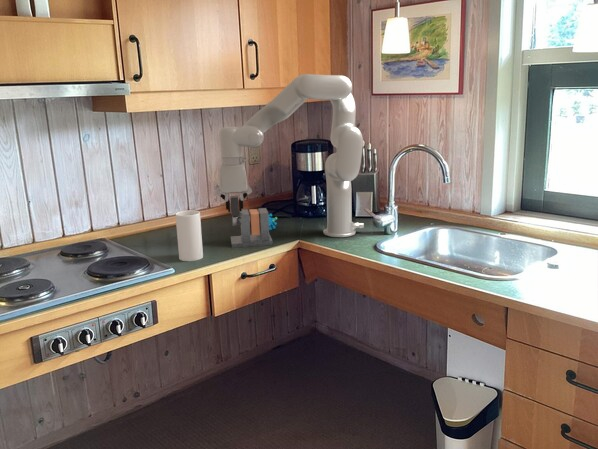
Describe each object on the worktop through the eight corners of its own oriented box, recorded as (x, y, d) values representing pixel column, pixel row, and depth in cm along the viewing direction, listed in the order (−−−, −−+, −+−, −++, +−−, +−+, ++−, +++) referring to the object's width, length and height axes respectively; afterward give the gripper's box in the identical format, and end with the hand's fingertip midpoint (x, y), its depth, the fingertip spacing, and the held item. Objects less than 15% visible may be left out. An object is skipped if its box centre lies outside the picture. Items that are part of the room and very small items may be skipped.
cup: (174, 258, 192) (170, 213, 188) (193, 252, 198) (190, 209, 194) (188, 262, 187) (185, 217, 183) (207, 256, 193) (204, 212, 189)
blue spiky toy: (262, 229, 220) (252, 209, 224) (254, 237, 223) (245, 217, 227) (283, 228, 227) (273, 208, 231) (276, 236, 231) (266, 216, 235)
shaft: (264, 222, 209) (263, 193, 206) (265, 224, 205) (264, 195, 203) (231, 224, 207) (229, 195, 205) (232, 227, 204) (230, 197, 201)
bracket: (269, 237, 214) (268, 207, 211) (272, 244, 205) (271, 213, 202) (230, 240, 212) (228, 209, 209) (231, 247, 202) (230, 216, 199)
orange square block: (257, 229, 212) (256, 208, 210) (259, 234, 204) (258, 213, 202) (250, 229, 211) (249, 209, 209) (251, 235, 204) (250, 214, 201)
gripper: (254, 159, 204) (256, 207, 209) (208, 161, 202) (212, 210, 207) (255, 161, 197) (258, 211, 202) (208, 164, 195) (212, 214, 199)
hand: (234, 210), depth 204 cm, fingers open, 3 cm apart
